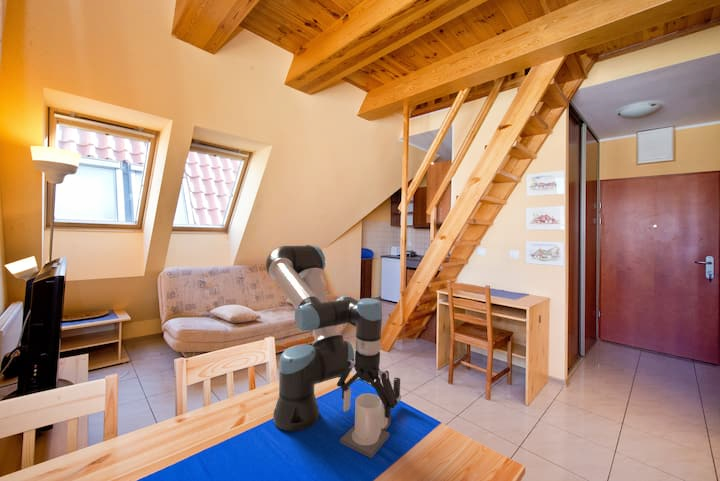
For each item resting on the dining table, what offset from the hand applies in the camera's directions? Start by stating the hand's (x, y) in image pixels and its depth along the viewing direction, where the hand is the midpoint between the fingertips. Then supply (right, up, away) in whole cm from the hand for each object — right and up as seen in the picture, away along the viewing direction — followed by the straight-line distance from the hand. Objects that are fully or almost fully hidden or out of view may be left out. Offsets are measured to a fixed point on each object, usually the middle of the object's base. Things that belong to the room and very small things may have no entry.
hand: (364, 417), depth 96 cm
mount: (+5, -6, +7) cm, 11 cm away
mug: (+1, -6, -1) cm, 6 cm away
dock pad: (0, -7, 0) cm, 7 cm away
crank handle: (+8, -4, +12) cm, 15 cm away
